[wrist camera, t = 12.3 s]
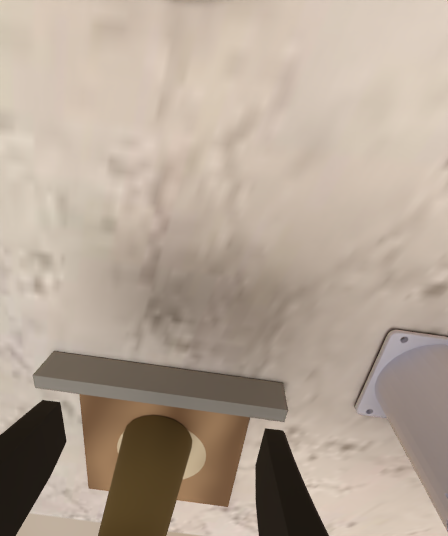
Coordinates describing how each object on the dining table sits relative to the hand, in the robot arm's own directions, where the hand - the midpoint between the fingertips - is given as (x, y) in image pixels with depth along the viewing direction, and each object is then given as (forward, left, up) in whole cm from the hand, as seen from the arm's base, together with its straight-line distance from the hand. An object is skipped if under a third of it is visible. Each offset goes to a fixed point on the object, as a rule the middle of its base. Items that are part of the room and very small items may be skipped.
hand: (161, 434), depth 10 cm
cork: (+2, +15, -10) cm, 18 cm away
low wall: (+2, +7, -10) cm, 13 cm away
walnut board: (+2, +16, -10) cm, 20 cm away
